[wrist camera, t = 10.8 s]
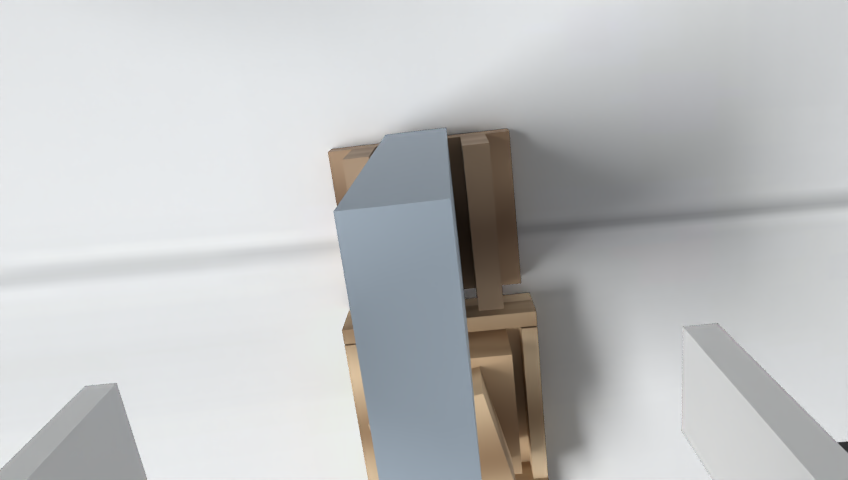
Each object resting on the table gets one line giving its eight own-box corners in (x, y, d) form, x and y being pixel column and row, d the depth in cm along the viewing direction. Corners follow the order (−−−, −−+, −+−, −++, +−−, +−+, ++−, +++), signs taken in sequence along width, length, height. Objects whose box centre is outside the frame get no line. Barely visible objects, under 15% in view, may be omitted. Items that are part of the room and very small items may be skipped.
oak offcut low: (377, 340, 33) (371, 367, 30) (505, 328, 33) (511, 354, 30) (394, 449, 35) (390, 484, 32) (515, 438, 35) (522, 473, 32)
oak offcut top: (373, 396, 31) (368, 425, 28) (479, 366, 30) (482, 393, 28) (410, 484, 32) (407, 519, 30) (511, 457, 32) (517, 490, 29)
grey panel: (385, 134, 30) (333, 211, 15) (446, 127, 30) (450, 198, 15) (408, 302, 32) (382, 501, 18) (464, 297, 32) (482, 494, 18)
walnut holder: (331, 149, 31) (315, 162, 27) (507, 128, 30) (516, 139, 27) (355, 293, 33) (343, 324, 30) (518, 276, 33) (528, 305, 29)
